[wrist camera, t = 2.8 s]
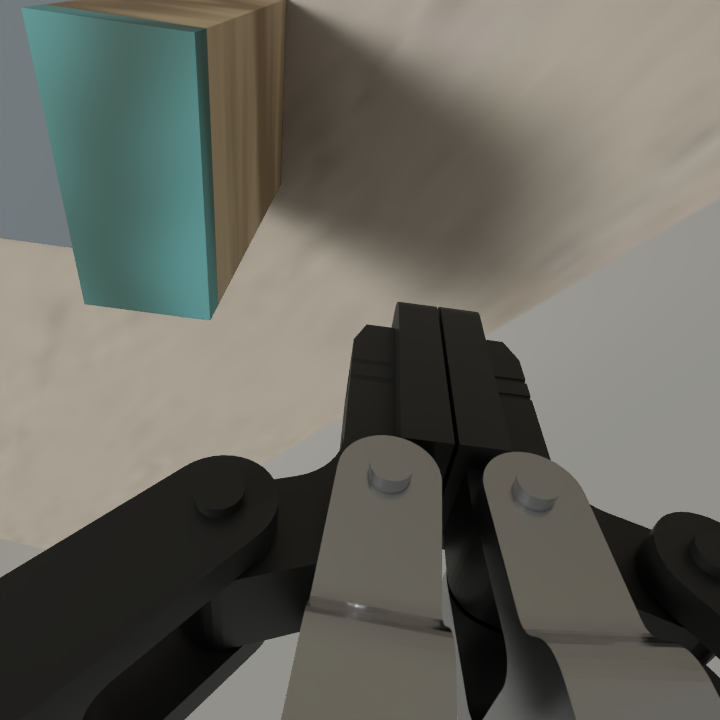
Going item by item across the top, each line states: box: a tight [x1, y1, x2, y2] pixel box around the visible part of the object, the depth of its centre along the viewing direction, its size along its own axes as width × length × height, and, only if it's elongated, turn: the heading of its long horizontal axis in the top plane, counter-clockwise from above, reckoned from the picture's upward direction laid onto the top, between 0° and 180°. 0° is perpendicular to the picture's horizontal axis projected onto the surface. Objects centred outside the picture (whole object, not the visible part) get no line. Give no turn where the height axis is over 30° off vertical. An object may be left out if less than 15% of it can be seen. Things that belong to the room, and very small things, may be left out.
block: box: [21, 0, 287, 320], centre depth 20 cm, size 4×8×13 cm, turn 173°
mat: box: [0, 0, 74, 248], centre depth 25 cm, size 14×18×1 cm
